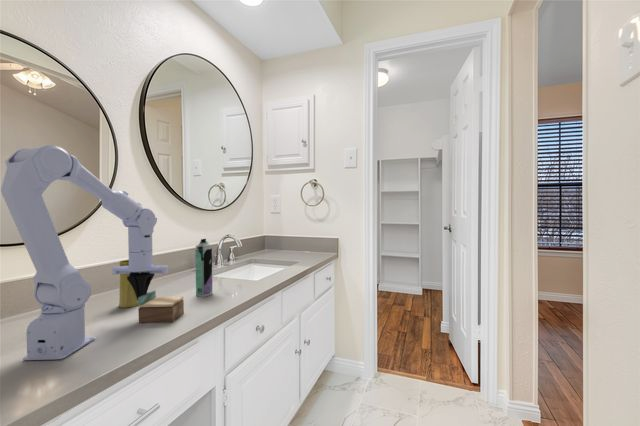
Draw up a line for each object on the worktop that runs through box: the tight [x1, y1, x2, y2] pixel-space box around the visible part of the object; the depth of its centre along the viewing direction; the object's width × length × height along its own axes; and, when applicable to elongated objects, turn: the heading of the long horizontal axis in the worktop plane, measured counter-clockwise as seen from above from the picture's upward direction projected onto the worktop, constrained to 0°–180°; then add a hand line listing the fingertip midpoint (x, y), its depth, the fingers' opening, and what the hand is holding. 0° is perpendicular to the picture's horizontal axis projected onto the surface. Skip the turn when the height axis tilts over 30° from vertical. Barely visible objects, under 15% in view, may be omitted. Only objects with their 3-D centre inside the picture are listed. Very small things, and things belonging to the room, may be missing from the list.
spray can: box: [194, 238, 213, 298], centre depth 104 cm, size 6×6×20 cm
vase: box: [118, 259, 138, 309], centre depth 94 cm, size 6×6×14 cm
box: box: [138, 299, 185, 324], centre depth 82 cm, size 7×9×4 cm
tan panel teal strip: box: [137, 289, 184, 308], centre depth 82 cm, size 7×9×3 cm
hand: (141, 299), depth 82 cm, fingers closed
